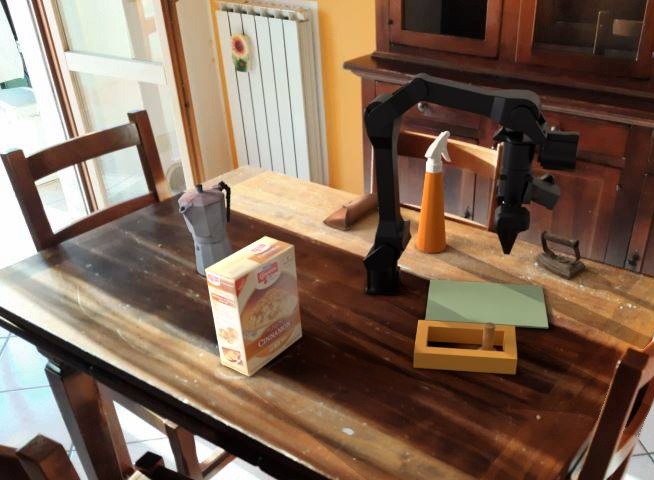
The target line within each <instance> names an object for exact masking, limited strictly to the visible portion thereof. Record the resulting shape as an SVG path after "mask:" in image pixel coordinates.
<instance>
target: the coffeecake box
mask: <svg viewBox="0 0 654 480" xmlns="http://www.w3.org/2000/svg"><path fill="white" fill-rule="evenodd" d="M205 271H206V276H205V277H206V284H207V287H208V288H207V289H208V293H209V299H210V304H211V310H212V316H213V322H214V327H215V334H216V339H217V344H218V350H219V356H220V361H221V365H223V366H225V367H227V368H230V369H232V370H235V371H236V372H238V373H240V374H242V375H245V376H247V377H252V376H253V375H254V374H256V373H257V372H258V371H259V370H260V369H262V368H263V367H264V366H266V365H267V364H268V363H270V362H271V361H272V360H274V359H275V358H276V357H277V356H279V355H280V354H281V353H283V352H284V351H285V350H286V349H288V348H289V347H290V346H292V345H293V344H294V343H295V342H297V341H298V340H300V339H301V338H302V337H303V331H302V320H301V311H300V298H299V286H298V275H297V263H296V253H295V245H294V244H291V243H289V242H285V241H282V240H278V239H276V238H272V237H269V236H267V235H264V236H263V237H261V238H260V239H258V240H256V241H254V242H252V243H251V244H249V245H246V246H245V247H243V248H242V249H240V250H237V251H235V252H234V254H232V255H231V256H229V257H227V258H225V259H223V260H221V261H220V262H218V263H216V264H214V265H212V266H211V267H209V268H207V269H205Z"/></svg>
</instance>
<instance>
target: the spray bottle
mask: <svg viewBox="0 0 654 480" xmlns="http://www.w3.org/2000/svg"><path fill="white" fill-rule="evenodd" d="M450 136H451V133H450V131H448V130H446V131H444V132H443V131H441V132H440V133H439V135H438V136H437V137H436V138H435V140H434V141H433V142H432V143H431V144H430V146H428V148H427V150H426V152H425V154H424V157H425V158H426V159H427V161H426V162H425V163H426V164H425V175H424V183H423V192H422V197H421V206H420V207H421V208H420V214H419V222H418V230H417V238H416V248H417V250H419V251H420V252H424V253H426V254H437V253H441V252H443V251H444V250H445V249H446V248H447V239H446V238H447V237H446V236H447V235H446V216H445V199H444V198H445V197H444V196H445V195H444V177H443V160H442V158H443V159H444V160H445V161H446V162H449V163H452V160H451V158H450V154H449V151H448V148H447V146H448V141H449V140H448V139H449V137H450Z"/></svg>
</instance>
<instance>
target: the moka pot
mask: <svg viewBox="0 0 654 480" xmlns="http://www.w3.org/2000/svg"><path fill="white" fill-rule="evenodd" d="M194 187H195V189H193V190H190V191H187V192H184V193H182V194H181V196H180V197H179V199H178V200H177V203H178V205H179V213H180V214H182V216H183V218H184V221H185V223H186V226H187V228H188V231H189V232H190V233H191V235H192V239H193V241H194V252H195V253H194V254H195V261H196V271H197V273H199V274H200V275H201V276H204V277H206V271H205V269H207V268H209V267H211V266H212V265H214V264H216V263H218V262H220V261H221V260H223V259H225V258H227V257H229V256H231V255H232V254H234V253H235V252H234V249H233V246H232V244H231V242H230V239H229V236H228V233H227V232H228V231H227V225H228V223H229V222H230V221H231V197H232V196H231V194H232V191H231V187H230V186H229V185H228V184H227V183H226V182H224V181H223V180H221V181H220V182H218V184H214V185H212V186H211V187H203V184H202V183H197V184H195V185H194ZM224 190H225V193H224V192H223V191H224Z"/></svg>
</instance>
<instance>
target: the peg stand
mask: <svg viewBox="0 0 654 480" xmlns="http://www.w3.org/2000/svg"><path fill="white" fill-rule="evenodd" d="M494 334H495V324H494V323H491V322H487V323H485V324H484V331H483V341H482V344H481V346H480V347H478V348H477V349H476V350H484V351H498V350H497V349H496V348H494V345H493V343H494Z"/></svg>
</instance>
